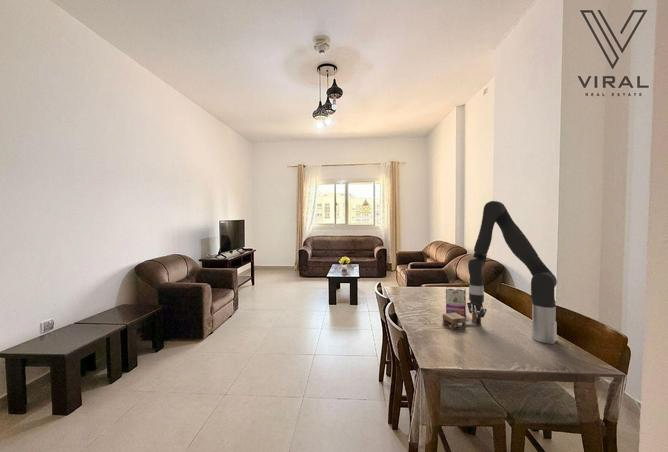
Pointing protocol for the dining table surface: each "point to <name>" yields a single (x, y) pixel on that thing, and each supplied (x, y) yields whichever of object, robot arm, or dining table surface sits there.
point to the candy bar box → (456, 301)
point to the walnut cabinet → (454, 320)
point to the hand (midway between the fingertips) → (476, 322)
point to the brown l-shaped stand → (470, 323)
